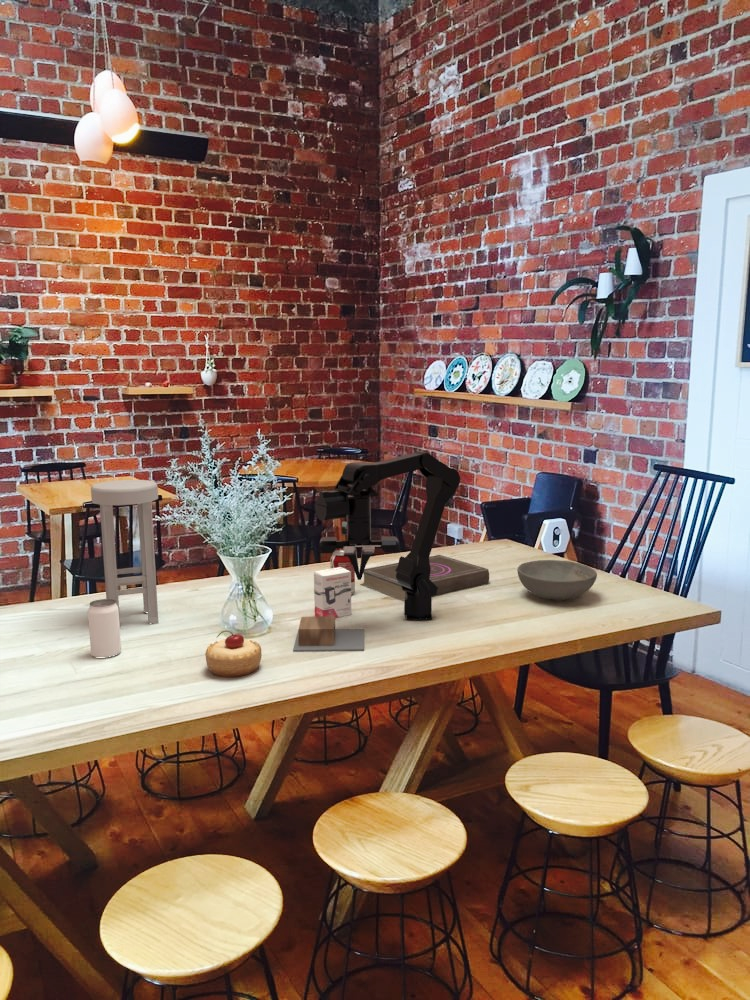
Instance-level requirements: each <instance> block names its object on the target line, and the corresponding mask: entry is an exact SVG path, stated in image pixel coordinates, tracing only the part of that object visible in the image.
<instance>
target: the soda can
mask: <svg viewBox="0 0 750 1000" xmlns="http://www.w3.org/2000/svg"><path fill="white" fill-rule="evenodd" d="M329 562H330V569H332V568H338V567H342V568H344V569H346V570H348V571H351V595H352V594H354V593H356V582H355V581H356V574H355V571H354V568H353V565H352V563H351V562H350V560H349V558H348V557H347V556H344V550H343V549H339V550H338V549H337V550H335V551H334V552H333V553H332V555H331V557H330V561H329Z"/></svg>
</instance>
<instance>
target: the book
mask: <svg viewBox="0 0 750 1000" xmlns="http://www.w3.org/2000/svg"><path fill="white" fill-rule="evenodd" d="M429 561H430V568H431V572H430V578H429V579H430V580H431V581H432V582H433V583H434V584H435V585H436V586H437V587H438V590H437V593H436V596H437V597H438V596H441V595H447V594H450V593H454V592H459V591H463V590H468V589H471V588H475V587H479V586H480V587H481V586H484V585H489V583H490V571H489V568H486V567H483V566H479V565H476V564H472V563H469V562H465V561H462V560H458V559H455V558H452V557H448V556H445V555H441V554H436V555H431V556H429ZM398 563H399V562H395V563H389V564H383V565H380V566H373V567H368V568H365V569H364V572H363V583H360V586H363V587H365V588H367V589H370V590H372V589H373V591H375V592H378V593H381V594H384V595H386V596H389V597H391V598H393V599H397V600H399V601H402V602H404V598H405V597H406V591H403V590H402V588H401V585H400V584H399V583H398V581H397V579H396V573H397V572H396V571H395V570H396V568H397V566H398ZM436 596H435V597H436ZM432 597H433V598H434V596H432Z"/></svg>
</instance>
